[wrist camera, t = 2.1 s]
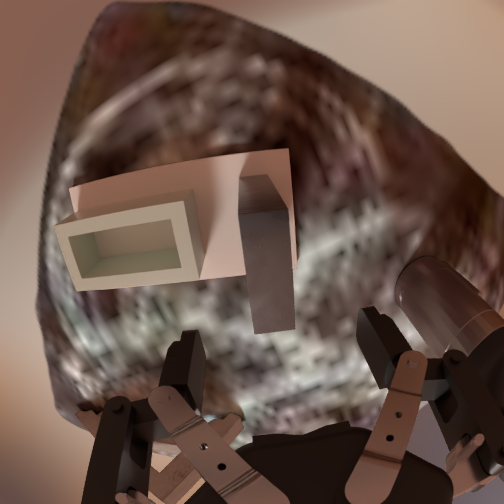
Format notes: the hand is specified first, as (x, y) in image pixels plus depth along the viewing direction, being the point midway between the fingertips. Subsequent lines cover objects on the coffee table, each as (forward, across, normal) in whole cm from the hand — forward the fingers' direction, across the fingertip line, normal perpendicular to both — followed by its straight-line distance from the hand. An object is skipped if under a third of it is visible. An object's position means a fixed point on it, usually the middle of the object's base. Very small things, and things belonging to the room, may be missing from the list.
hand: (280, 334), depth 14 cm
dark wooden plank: (+20, 0, 0) cm, 20 cm away
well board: (+21, +9, 0) cm, 22 cm away
